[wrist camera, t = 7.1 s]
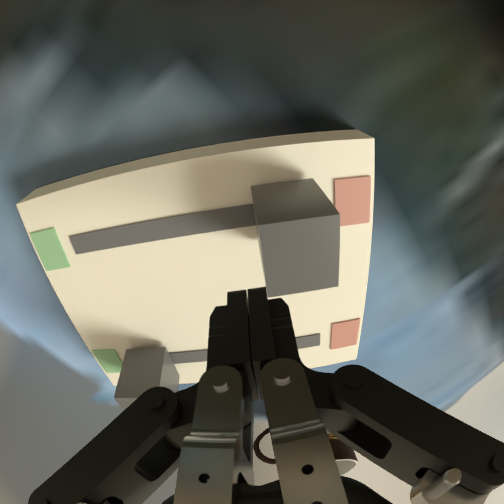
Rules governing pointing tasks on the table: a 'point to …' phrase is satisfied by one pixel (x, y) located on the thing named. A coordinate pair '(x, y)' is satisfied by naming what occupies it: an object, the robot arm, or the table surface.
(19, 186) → the table surface
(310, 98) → the table surface
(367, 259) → the switch panel
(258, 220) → the slider
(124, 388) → the slider
